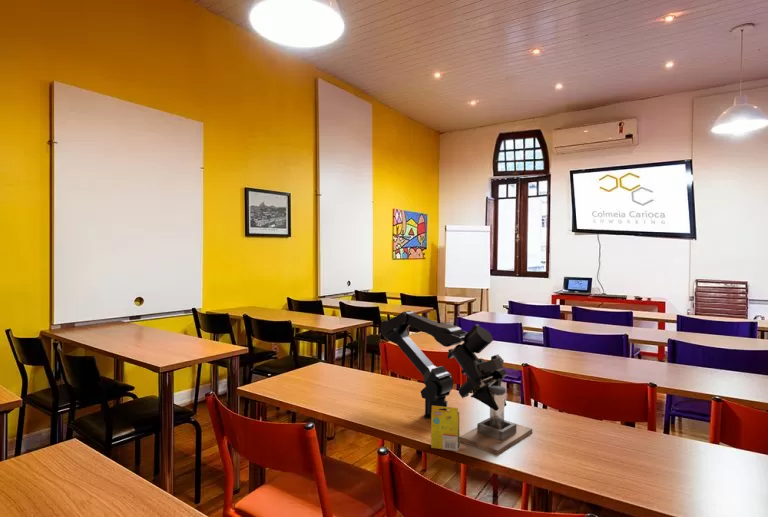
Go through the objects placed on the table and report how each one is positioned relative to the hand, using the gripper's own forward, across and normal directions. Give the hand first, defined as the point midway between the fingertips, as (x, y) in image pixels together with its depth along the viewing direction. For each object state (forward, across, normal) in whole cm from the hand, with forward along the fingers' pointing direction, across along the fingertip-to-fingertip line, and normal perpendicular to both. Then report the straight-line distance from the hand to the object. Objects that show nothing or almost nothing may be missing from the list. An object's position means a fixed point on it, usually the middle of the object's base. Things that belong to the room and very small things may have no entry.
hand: (501, 408), depth 126 cm
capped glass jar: (+4, 0, +6) cm, 7 cm away
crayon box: (+1, -16, +12) cm, 20 cm away
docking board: (+5, 0, +7) cm, 9 cm away
